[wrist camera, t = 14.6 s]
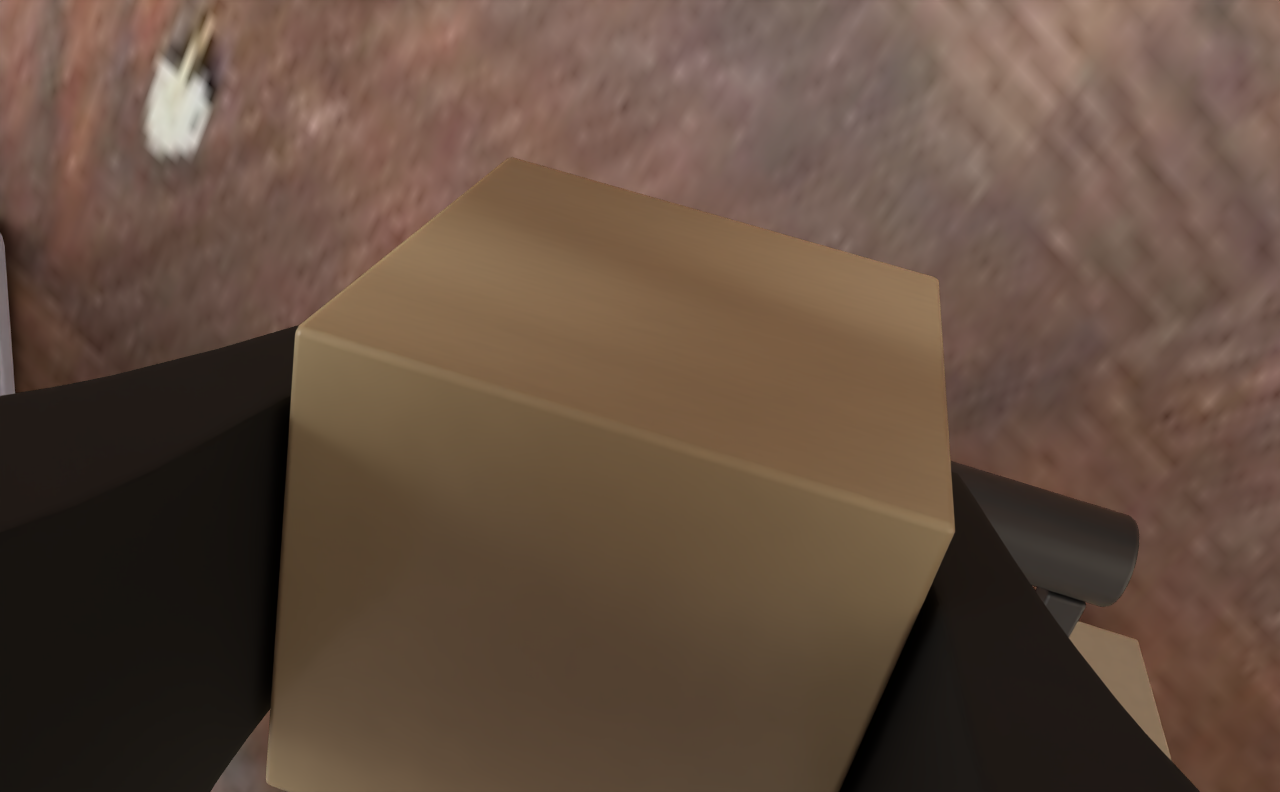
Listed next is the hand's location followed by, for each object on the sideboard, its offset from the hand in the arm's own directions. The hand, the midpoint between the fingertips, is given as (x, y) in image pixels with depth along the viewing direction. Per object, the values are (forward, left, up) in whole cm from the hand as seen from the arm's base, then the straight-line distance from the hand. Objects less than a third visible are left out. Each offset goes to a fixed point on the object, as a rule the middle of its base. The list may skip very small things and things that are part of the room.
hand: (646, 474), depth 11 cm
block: (0, 0, -1) cm, 1 cm away
